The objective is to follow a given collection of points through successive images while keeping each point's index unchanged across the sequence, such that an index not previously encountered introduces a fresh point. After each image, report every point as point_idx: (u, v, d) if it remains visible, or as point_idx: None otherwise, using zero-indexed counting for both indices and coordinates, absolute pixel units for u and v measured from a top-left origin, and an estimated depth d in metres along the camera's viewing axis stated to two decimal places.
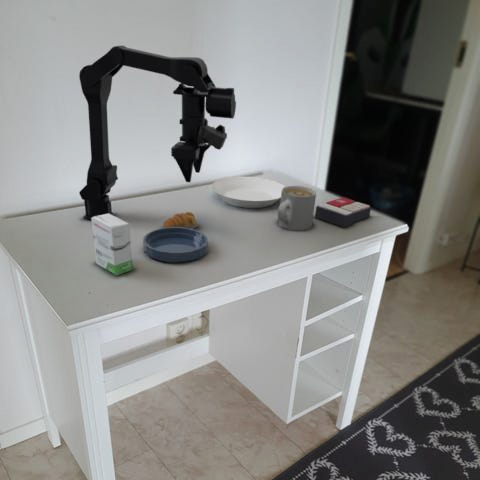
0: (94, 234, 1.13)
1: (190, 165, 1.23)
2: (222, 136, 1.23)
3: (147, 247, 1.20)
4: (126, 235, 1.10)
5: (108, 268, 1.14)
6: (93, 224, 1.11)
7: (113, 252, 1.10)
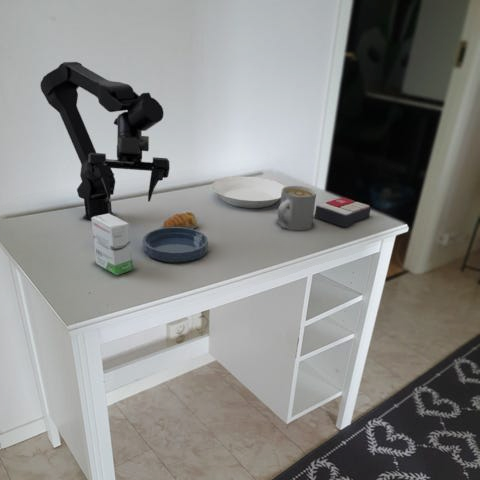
0: (94, 234, 1.13)
1: None
2: (124, 138, 1.10)
3: (147, 247, 1.20)
4: (126, 235, 1.10)
5: (108, 268, 1.14)
6: (93, 224, 1.11)
7: (113, 252, 1.10)
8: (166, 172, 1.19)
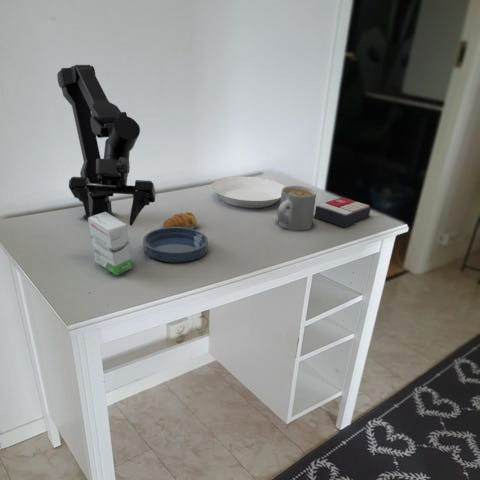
0: (92, 234, 1.11)
1: None
2: None
3: (147, 247, 1.20)
4: (124, 236, 1.09)
5: (108, 268, 1.13)
6: (90, 224, 1.10)
7: (112, 254, 1.09)
8: (151, 195, 1.13)
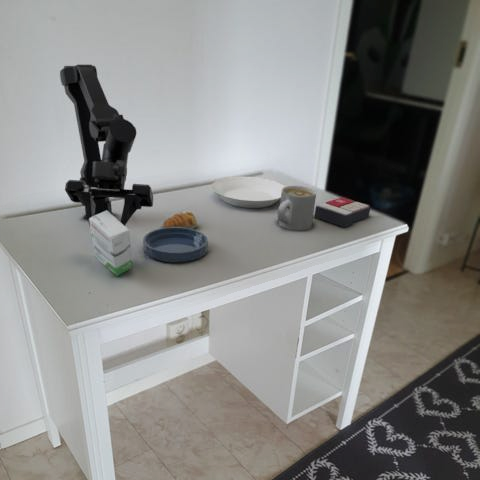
0: (92, 233, 1.09)
1: None
2: None
3: (147, 247, 1.20)
4: (126, 240, 1.07)
5: (108, 266, 1.13)
6: (91, 225, 1.07)
7: (113, 258, 1.08)
8: (148, 200, 1.11)
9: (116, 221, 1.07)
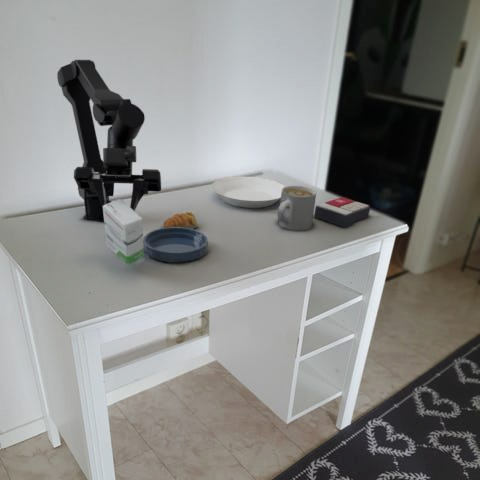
0: (105, 221, 1.09)
1: None
2: None
3: (147, 247, 1.20)
4: (139, 229, 1.07)
5: (119, 255, 1.13)
6: (105, 213, 1.07)
7: (125, 246, 1.08)
8: (158, 184, 1.11)
9: (130, 210, 1.07)
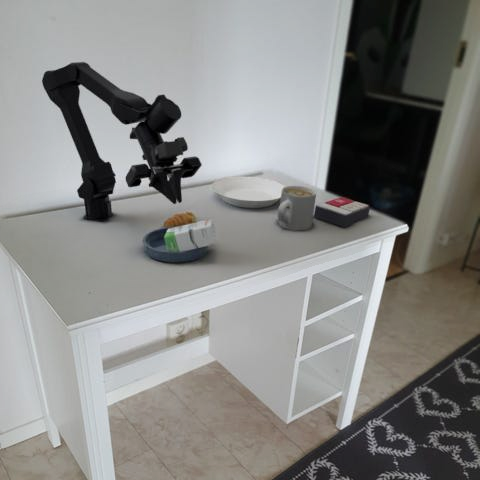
0: (196, 222, 1.23)
1: None
2: (167, 142, 1.12)
3: (147, 247, 1.20)
4: (203, 242, 1.18)
5: (168, 233, 1.20)
6: (206, 220, 1.23)
7: (186, 231, 1.17)
8: (196, 170, 1.23)
9: (215, 238, 1.21)
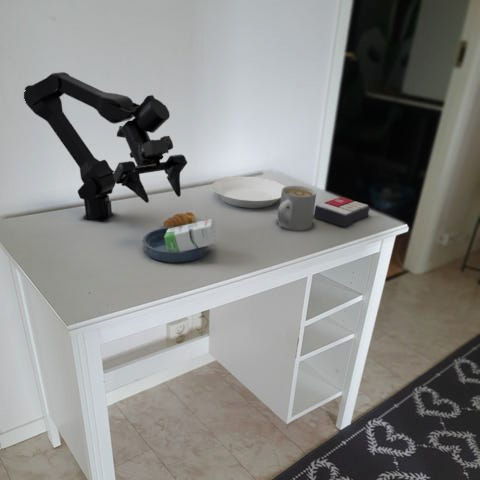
0: (196, 222, 1.23)
1: (135, 183, 1.19)
2: None
3: (147, 247, 1.20)
4: (203, 242, 1.18)
5: (168, 233, 1.20)
6: (206, 220, 1.23)
7: (186, 231, 1.17)
8: None
9: (215, 238, 1.21)
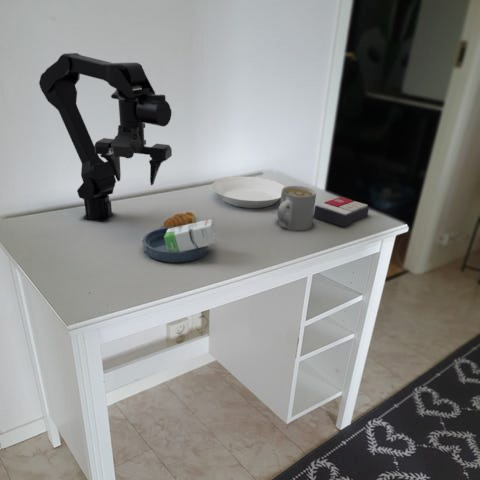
0: (196, 222, 1.23)
1: None
2: (115, 144, 1.17)
3: (147, 247, 1.20)
4: (203, 242, 1.18)
5: (168, 233, 1.20)
6: (206, 220, 1.23)
7: (186, 231, 1.17)
8: None
9: (215, 238, 1.21)
